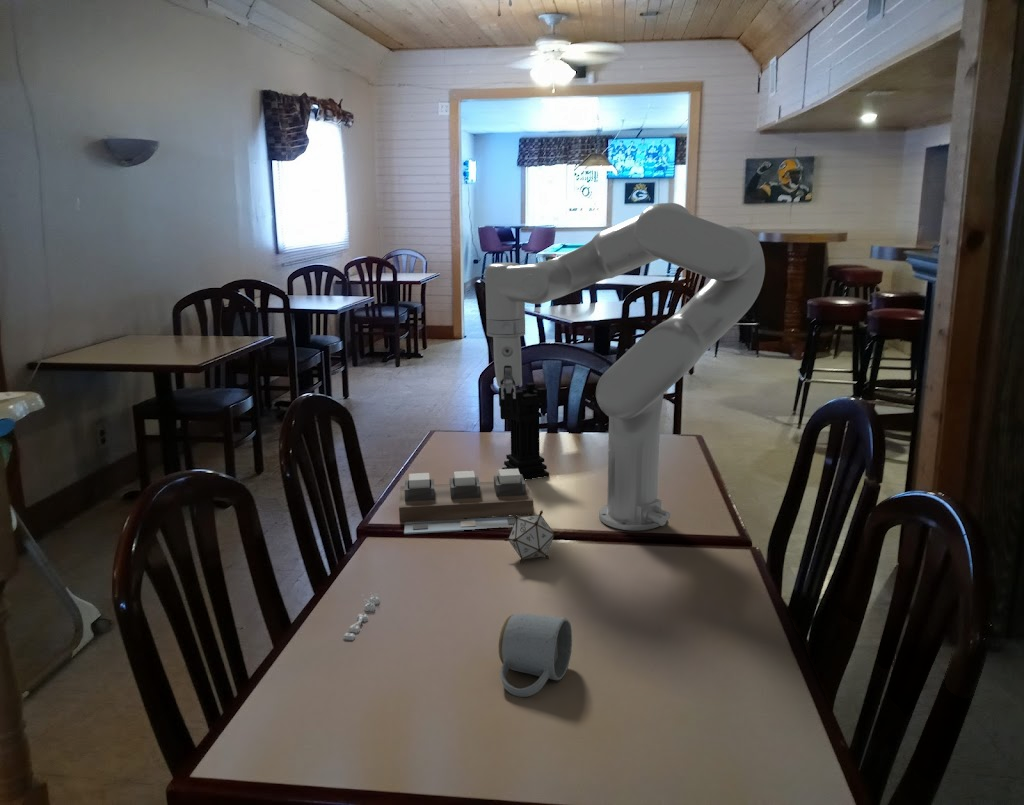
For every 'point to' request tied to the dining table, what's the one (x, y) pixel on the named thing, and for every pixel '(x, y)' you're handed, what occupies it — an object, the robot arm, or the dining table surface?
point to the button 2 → (509, 476)
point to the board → (463, 506)
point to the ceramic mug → (535, 649)
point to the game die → (531, 536)
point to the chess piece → (527, 434)
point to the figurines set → (362, 616)
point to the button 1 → (419, 480)
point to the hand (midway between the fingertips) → (507, 412)
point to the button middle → (464, 478)
